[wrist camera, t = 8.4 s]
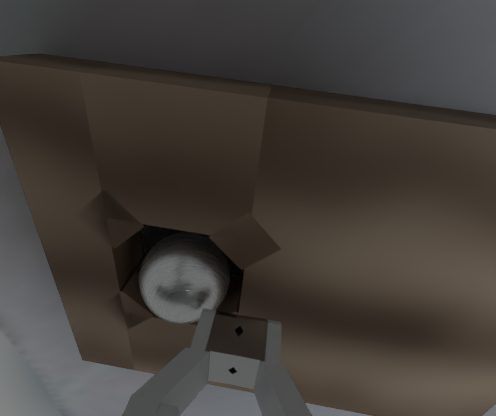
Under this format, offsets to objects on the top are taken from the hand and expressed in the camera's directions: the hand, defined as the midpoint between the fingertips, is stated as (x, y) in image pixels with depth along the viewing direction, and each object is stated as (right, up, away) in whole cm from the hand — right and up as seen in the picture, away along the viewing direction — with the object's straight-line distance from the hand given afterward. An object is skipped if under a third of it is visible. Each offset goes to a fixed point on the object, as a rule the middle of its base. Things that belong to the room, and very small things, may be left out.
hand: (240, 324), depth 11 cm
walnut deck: (+2, +2, +3) cm, 5 cm away
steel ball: (-3, +1, +2) cm, 4 cm away
